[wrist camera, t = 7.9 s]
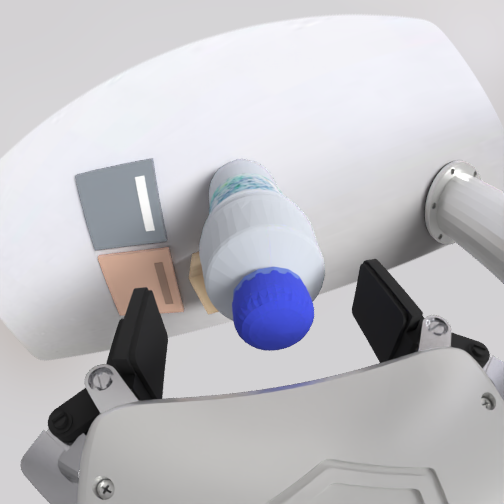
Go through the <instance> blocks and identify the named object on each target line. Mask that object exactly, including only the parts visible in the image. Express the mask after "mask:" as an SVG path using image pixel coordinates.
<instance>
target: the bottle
mask: <svg viewBox="0 0 504 504" xmlns="http://www.w3.org/2000/svg"><path fill="white" fill-rule="evenodd" d="M209 204H210V210H209V216H208V218H207V220H206V222H205V224H204V227H203V231H202V235H201V239H200V244H199V256H200V261H201V265H202V271H203V277H204V283H205V288H206V292H207V295H208V297H209V299H210V301H211V303H212V304H213V305H214V307H215V308H216V309H217V310H218V311H219V312H220V313H221V314H223V315H224V316H225V317H227V318H229V319H231V320H233V321H234V325H235V328H236V330H237V332H238V334H239V336H240V337H241V338H242V339H243V340H244V341H245V342H246V343H248V344H249V345H251V346H253V347H255V348H257V349H261V350H279V349H284V348H287V347H290V346H292V345H294V344H295V343H297V342H298V341H300V340H301V339H302V338H303V337H304V336H305V335H306V333H307V332H308V331H309V329H310V327H311V325H312V322H313V319H314V307H313V303H312V302H313V301H314V299H315V298H316V297H317V295H318V293H319V291H320V289H321V287H322V284H323V280H324V276H325V264H324V259H323V256H322V253H321V250H320V247H319V245H318V242H317V240H316V237H315V233H314V230H313V227H312V224H311V223H310V221H309V219H308V218H307V216H306V215H305V214H304V213H303V211H302V210H301V209H299V208H298V206H297V205H296V204H295V203H294V202H293V201H291V200H290V199H288V198H287V197H285V196H284V195H283V194H282V193H281V191H280V190H279V188H278V187H277V184H276V182H275V180H274V178H273V177H272V175H271V174H270V172H269V171H268V170H267V169H266V168H265V167H264V166H262V165H261V164H259V163H256V162H254V161H250V160H246V159H237V160H234V161H232V162H229V163H227V164H226V165H224V166H222V167H221V168H219V169H218V170H217V172H216V173H215V175H214V177H213V179H212V181H211V184H210V187H209Z"/></svg>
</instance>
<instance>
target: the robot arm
mask: <svg viewBox="0 0 504 504" xmlns="http://www.w3.org/2000/svg"><path fill="white" fill-rule="evenodd" d="M425 222H426V226H427V229H428V231H429V234H430V235H431V236H432V237H433V238H434V239H435V240H436V241H437V242H439V243H441V244H446V245H448V244H453V243H455V242H456V243H457V244H458V245H460V246H461V247H462V248H463V249H465V250H466V251H467V252H468V253H469V254H471V255H472V256H473V257H474V258H475V259H477V260H478V261H479V262H480V263H481V264H483V265H484V266H485V267H486V268H487V269H488V270H489V271H491V272H492V273H493V274H494V275H495V276H496V277H497V278H498V279H499V280H500V281H501V282H502V283H503V284H504V192H503V191H501V190H499V189H497V188H496V187H494V186H492V185H490V184H488V183H486V182H484V181H482V180H481V177H480V175H479V173H478V171H477V169H476V168H475V167H474V166H473V165H471V164H470V163H467V162H465V161H460V160H458V161H453V162H451V163H449V164H447V165H446V166H445V167H444V168H442V170H441V171H440V172H439V173H438V174H437V176H436V177H435V179H434V181H433V183H432V185H431V187H430V190H429V193H428V196H427V200H426V205H425ZM352 313H353V316H354V318H355V319H356V321H357V323H358V325H359V326H360V328H361V330H362V331H363V333H364V335H365V336H366V338H367V340H368V342H369V344H370V345H371V347H372V349H373V351H374V353H375V354H376V356H377V358H378V360H379V362H380V363H379V364H376V365H372V366H369V367H365V368H362V369H358V370H354V371H351V372H347V373H343V374H339V375H335V376H331V377H326V378H322V379H317V380H313V381H308V382H303V383H298V384H293V385H287V386H282V387H276V388H269V389H263V390H256V391H249V392H241V393H232V394H223V395H212V396H200V397H186V398H168V399H162V394H163V381H164V371H165V362H166V352H167V344H168V336H167V332H166V329H165V327H164V324H163V321H162V318H161V315H160V312H159V309H158V306H157V303H156V300H155V297H154V294H153V291H152V290H148V288H147V287H143V288H135V289H134V290H133V293H132V296H131V299H130V302H129V305H128V308H127V311H126V314H125V317H124V319H121V320H120V321H119V323H118V327H117V330H116V333H115V336H114V339H113V343H112V346H111V349H110V353H109V356H108V360H107V364H102V365H97V366H95V367H93V368H92V369H91V370H89V372H88V373H87V375H86V377H85V386H86V388H85V389H84V390H82V391H81V392H79V393H78V394H77V395H75V396H74V397H72V398H71V399H69V400H68V401H66V402H65V403H64V404H62V405H61V406H59V407H58V408H56V409H55V410H54V411H53V412H52V413H51V415H50V416H49V420H48V427H49V429H48V430H47V431H46V432H45V431H42V433H41V434H40V436H39V437H38V438H37V439H36V440H35V442H34V443H33V444H32V446H31V447H30V448H29V450H28V451H27V452H26V453H25V455H24V456H23V458H22V460H21V470H22V472H23V474H24V475H25V476H26V477H27V479H28V480H29V481H30V482H31V483H32V485H33V486H34V487H35V488H36V489H37V490H38V491H39V492H40V494H41V495H42V496H43V497H44V498H45V499H46V500H47V501H48V502H49V503H50V504H504V362H503V361H501V360H499V359H498V358H496V357H495V356H492V357H490V354H489V351H488V349H487V348H486V346H485V345H484V344H482V343H480V342H478V341H475V340H472V339H469V338H466V337H463V336H460V335H457V334H454V333H451V326H450V324H449V323H448V322H447V321H446V320H445V319H444V318H442V317H440V316H437V315H430V316H427V317H426V318H424V317H423V316H422V314H423V313H422V311H421V310H420V309H419V308H418V306H417V305H416V304H415V303H414V301H413V300H412V299H411V298H410V297H409V295H408V294H407V293H406V292H405V291H404V289H403V288H402V287H401V286H400V285H399V284H398V283H397V281H396V280H395V279H394V278H393V277H392V276H391V275H390V273H389V272H388V271H387V270H386V269H385V268H384V267H383V266H382V265H381V263H380V262H379V261H378V260H377V259H372V260H366V261H364V262H363V264H361V266H360V270H359V276H358V281H357V287H356V292H355V297H354V302H353V306H352ZM79 470H80V471H79ZM78 472H79V478H78Z"/></svg>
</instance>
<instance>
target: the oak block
mask: <svg viewBox="0 0 504 504" xmlns="http://www.w3.org/2000/svg"><path fill="white" fill-rule="evenodd" d="M189 280H190V282H191V284H192V286H193V288H194V290H195V292H196V293H197V295H198V297H199V299H200V301H201V302H202V304H203V306H204V308H205V310H206V311H207V313H208V314H212V313H215V312H219V311H218V310H217V309H216V308H215V307H214V305H213V304H212V303H211V301H210V299H209V297H208V295H207V292H206V288H205V283H204V277H203V271H202V265H201V261H200V256H199V252H196V253H193V254H192V258H191V265H190V272H189Z"/></svg>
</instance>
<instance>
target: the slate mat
mask: <svg viewBox="0 0 504 504" xmlns="http://www.w3.org/2000/svg"><path fill="white" fill-rule="evenodd" d="M75 178H76V183H77V187H78V192H79V196H80V200H81V204H82V208H83V211H84V215H85V219H86V222H87V226H88V229H89V233H90V236H91V239H92V242H93V245H94V248H95V250H101V249H108V248H116V247H124V246H132V245H141V244H149V243H157V242H166V241H167V235H166V230H165V226H164V220H163V215H162V210H161V205H160V199H159V193H158V188H157V182H156V175H155V169H154V162H153V158H152V159H146V160H141V161H135V162H130V163H125V164H120V165H115V166H111V167H106V168H102V169H97V170H93V171H89V172H85V173H81V174H77V175H76V176H75Z"/></svg>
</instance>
